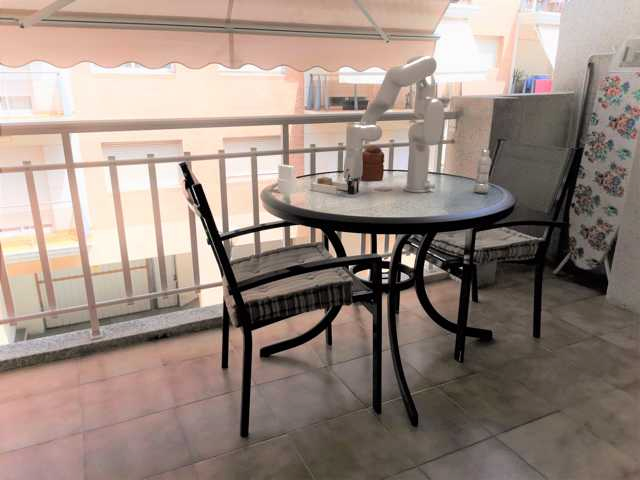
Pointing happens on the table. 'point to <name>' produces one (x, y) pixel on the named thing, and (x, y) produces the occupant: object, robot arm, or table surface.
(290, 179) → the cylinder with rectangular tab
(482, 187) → the plastic bottle
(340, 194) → the mat
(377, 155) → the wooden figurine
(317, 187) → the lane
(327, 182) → the rod with block end
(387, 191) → the table surface
